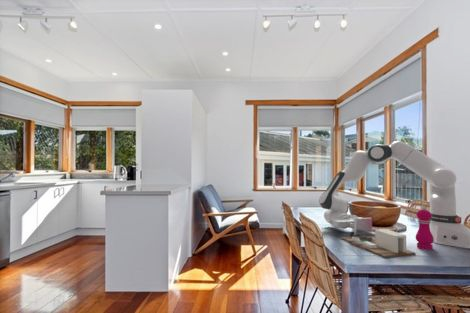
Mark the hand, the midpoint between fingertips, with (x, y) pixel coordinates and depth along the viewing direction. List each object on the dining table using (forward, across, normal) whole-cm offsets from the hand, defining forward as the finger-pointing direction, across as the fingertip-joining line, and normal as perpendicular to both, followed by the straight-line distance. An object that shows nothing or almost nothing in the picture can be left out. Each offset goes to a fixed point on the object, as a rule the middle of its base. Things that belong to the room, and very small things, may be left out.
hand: (358, 225), depth 149 cm
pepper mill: (+23, +20, +7) cm, 31 cm away
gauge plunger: (+13, -2, +5) cm, 14 cm away
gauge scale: (+13, -7, +6) cm, 16 cm away
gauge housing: (+22, 0, +6) cm, 23 cm away
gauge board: (+15, -2, +7) cm, 17 cm away
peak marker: (+13, -7, +4) cm, 15 cm away
